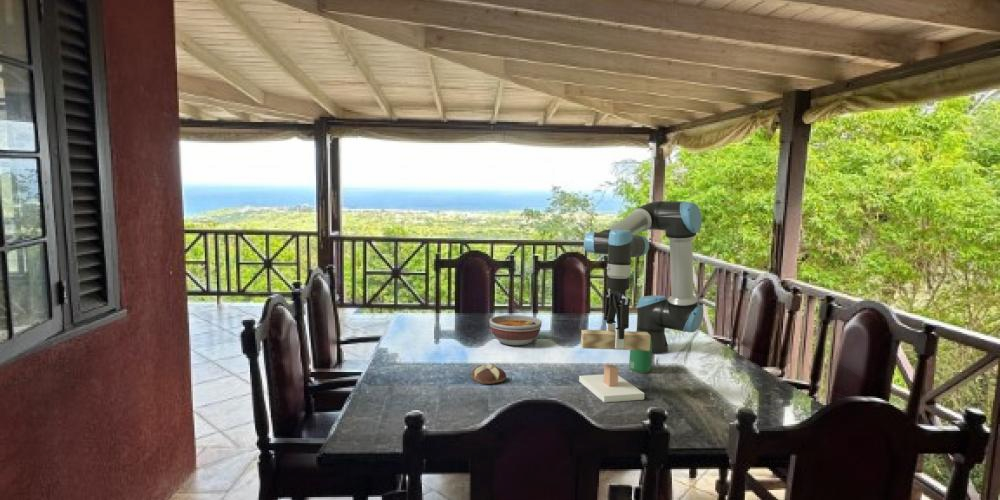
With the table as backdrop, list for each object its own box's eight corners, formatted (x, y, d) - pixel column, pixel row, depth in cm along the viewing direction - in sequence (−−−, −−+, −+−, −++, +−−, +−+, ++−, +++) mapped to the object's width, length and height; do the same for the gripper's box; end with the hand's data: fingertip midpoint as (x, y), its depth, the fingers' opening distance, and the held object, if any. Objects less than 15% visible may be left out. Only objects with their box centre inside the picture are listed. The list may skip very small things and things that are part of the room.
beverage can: (636, 365, 212) (637, 335, 211) (654, 370, 206) (656, 339, 205) (624, 369, 206) (626, 338, 205) (643, 375, 201) (645, 343, 200)
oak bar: (582, 348, 180) (583, 333, 180) (580, 344, 185) (581, 329, 185) (649, 350, 180) (650, 335, 179) (646, 346, 185) (647, 332, 184)
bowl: (550, 341, 244) (550, 319, 243) (524, 353, 225) (525, 329, 224) (506, 333, 256) (507, 312, 255) (478, 343, 237) (479, 321, 236)
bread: (468, 377, 193) (468, 363, 193) (497, 373, 198) (498, 360, 197) (479, 387, 183) (479, 372, 183) (510, 383, 188) (510, 369, 187)
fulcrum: (615, 379, 195) (616, 357, 194) (644, 399, 176) (645, 375, 175) (579, 381, 191) (580, 359, 191) (604, 402, 172) (605, 377, 171)
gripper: (595, 272, 188) (592, 338, 191) (621, 281, 170) (617, 353, 172) (615, 272, 190) (612, 338, 192) (642, 281, 172) (638, 353, 174)
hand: (614, 345), depth 182 cm, fingers closed on oak bar, 6 cm apart
